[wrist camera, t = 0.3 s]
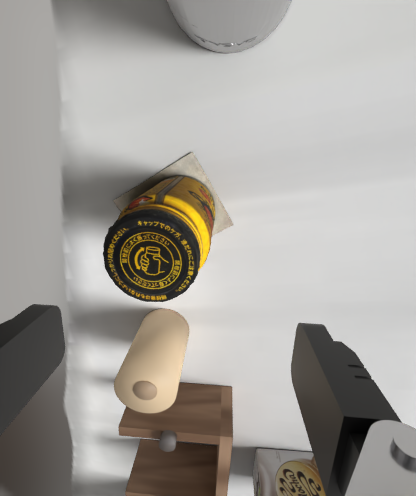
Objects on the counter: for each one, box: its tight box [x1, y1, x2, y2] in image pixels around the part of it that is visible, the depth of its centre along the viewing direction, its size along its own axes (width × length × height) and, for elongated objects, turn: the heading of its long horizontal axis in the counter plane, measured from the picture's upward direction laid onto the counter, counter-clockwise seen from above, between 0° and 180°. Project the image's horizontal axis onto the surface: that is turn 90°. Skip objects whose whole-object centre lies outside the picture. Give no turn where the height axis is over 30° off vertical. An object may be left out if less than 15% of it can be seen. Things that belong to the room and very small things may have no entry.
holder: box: [119, 382, 233, 496], centre depth 32 cm, size 12×11×7 cm
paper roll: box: [114, 309, 189, 413], centre depth 27 cm, size 5×5×8 cm
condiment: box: [103, 152, 233, 302], centre depth 20 cm, size 7×8×12 cm
